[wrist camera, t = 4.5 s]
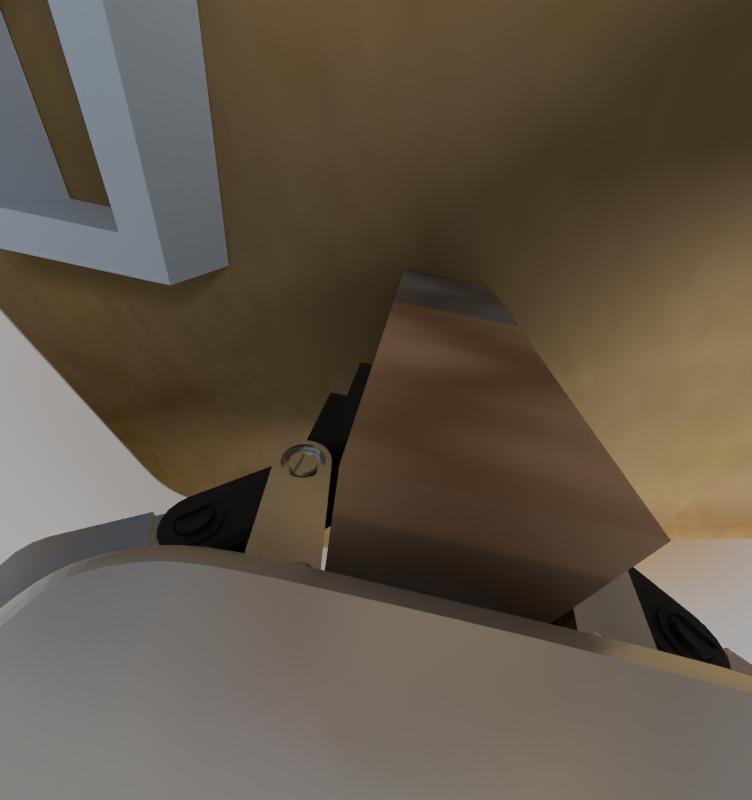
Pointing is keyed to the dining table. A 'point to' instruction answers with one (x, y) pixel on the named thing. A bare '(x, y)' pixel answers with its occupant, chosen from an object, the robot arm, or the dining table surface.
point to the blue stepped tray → (118, 145)
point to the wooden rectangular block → (478, 467)
